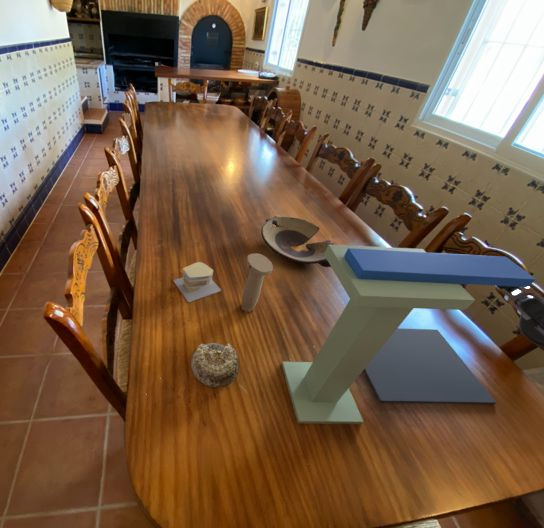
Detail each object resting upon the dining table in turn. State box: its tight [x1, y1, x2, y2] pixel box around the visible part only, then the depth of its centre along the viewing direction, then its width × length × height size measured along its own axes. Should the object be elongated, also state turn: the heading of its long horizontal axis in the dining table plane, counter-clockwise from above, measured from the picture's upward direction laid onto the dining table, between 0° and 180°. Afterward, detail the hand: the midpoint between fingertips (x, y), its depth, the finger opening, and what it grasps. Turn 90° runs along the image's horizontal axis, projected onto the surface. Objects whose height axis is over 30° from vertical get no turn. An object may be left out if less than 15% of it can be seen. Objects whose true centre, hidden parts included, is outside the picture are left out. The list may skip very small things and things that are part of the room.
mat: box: [363, 327, 497, 405], centre depth 65 cm, size 24×18×1 cm
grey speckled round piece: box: [190, 342, 240, 389], centre depth 60 cm, size 10×10×5 cm
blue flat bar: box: [344, 248, 537, 287], centre depth 38 cm, size 22×4×1 cm, turn 91°
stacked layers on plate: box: [172, 261, 222, 303], centre depth 78 cm, size 10×9×6 cm
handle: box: [241, 252, 274, 313], centre depth 70 cm, size 5×6×15 cm
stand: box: [281, 244, 476, 425], centre depth 48 cm, size 14×12×32 cm
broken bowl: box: [260, 215, 335, 268], centre depth 91 cm, size 22×30×8 cm
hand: (521, 294), depth 42 cm, fingers open, 8 cm apart
